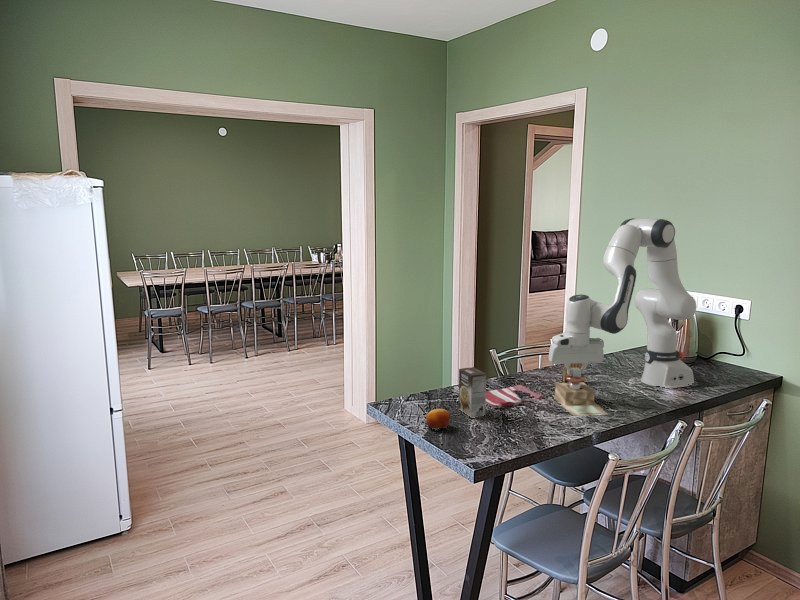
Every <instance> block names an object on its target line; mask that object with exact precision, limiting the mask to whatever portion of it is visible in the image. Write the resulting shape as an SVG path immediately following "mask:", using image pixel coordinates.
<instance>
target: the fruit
mask: <svg viewBox="0 0 800 600" xmlns="http://www.w3.org/2000/svg"><path fill="white" fill-rule="evenodd" d="M450 418H451V416H450V412H449V411H448V410H446V409H445V408H434V409H431V410H430V411H429V412H427V414H426V415H425V419H426V420H425V421H426V425H427V426H430V427H431V428H436V429H438V428H446V429H447V427H448V425H449V424H450Z"/></svg>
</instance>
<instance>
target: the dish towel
mask: <svg viewBox="0 0 800 600" xmlns="http://www.w3.org/2000/svg"><path fill="white" fill-rule="evenodd" d="M515 391H519V392H525V393H528V394H529V395H531V396H533V398H528V399H527V398H526V399H521V398H520V397H519V395H518V394H517V393H516V392H515ZM544 398H545V396H544V395H543V394H539V393H537V392H534V391H532V390H530V389H529V388H527V387H526V386H524V385H521V384H516V385H514V386H510V387H506V388H504V387H503V388H498V389H494V390H486V404H488V405H490V406H492V407H494V408H501V409H503V408H502V407H506V406H513V405H517V404H522V403H524V402H528V401H529V402H530V401H536V400H540V399H544ZM522 405H523V404H522ZM517 406H518V405H517ZM513 407H514V406H513Z"/></svg>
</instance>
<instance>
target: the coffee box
mask: <svg viewBox="0 0 800 600" xmlns="http://www.w3.org/2000/svg"><path fill="white" fill-rule="evenodd" d="M486 391H487V373H486V372H484V371H482V370H481V369H477V368H476V367H463V368H458V410H459V409H460V410H461V411H462V412H464V413H465V414H467V415H468V416H470V417H476V416H483V415H485V416H486Z"/></svg>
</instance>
